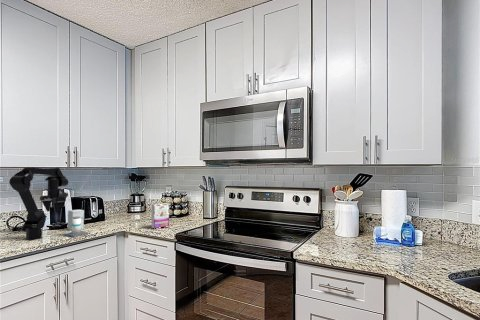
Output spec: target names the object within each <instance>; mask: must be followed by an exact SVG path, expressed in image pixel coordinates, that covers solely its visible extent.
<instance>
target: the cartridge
mask: <svg viewBox="0 0 480 320" xmlns="http://www.w3.org/2000/svg"><path fill="white" fill-rule="evenodd" d="M81 231H82V229H81V217H80V216H77V217H73V219H72V230H71V232H72V234H79V233H81Z"/></svg>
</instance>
